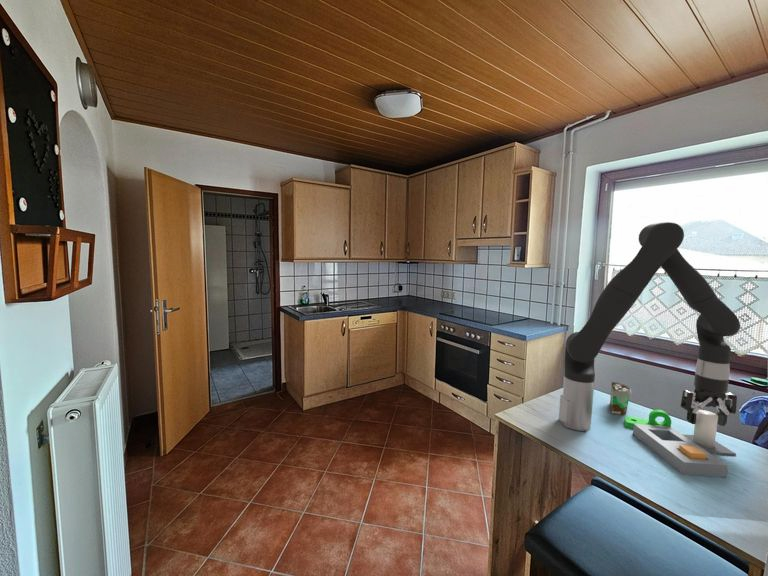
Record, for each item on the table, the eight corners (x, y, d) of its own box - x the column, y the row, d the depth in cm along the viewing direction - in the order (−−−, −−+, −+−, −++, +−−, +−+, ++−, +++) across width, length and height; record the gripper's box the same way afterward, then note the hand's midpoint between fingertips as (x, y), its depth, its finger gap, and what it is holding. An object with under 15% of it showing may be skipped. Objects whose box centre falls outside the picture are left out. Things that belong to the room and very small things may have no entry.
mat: (700, 453, 101) (700, 451, 101) (674, 435, 110) (674, 433, 110) (735, 455, 100) (736, 453, 100) (706, 437, 110) (707, 435, 109)
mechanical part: (665, 429, 115) (667, 407, 114) (669, 436, 110) (672, 414, 109) (623, 420, 121) (625, 399, 120) (625, 427, 116) (627, 405, 115)
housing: (682, 474, 90) (684, 462, 90) (632, 433, 111) (633, 423, 111) (726, 477, 89) (727, 465, 89) (667, 435, 110) (668, 425, 110)
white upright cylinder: (701, 447, 103) (705, 416, 102) (688, 438, 108) (691, 409, 107) (719, 448, 102) (722, 417, 101) (705, 439, 107) (708, 410, 106)
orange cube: (689, 468, 93) (690, 453, 92) (677, 459, 97) (679, 444, 96) (704, 469, 92) (706, 454, 92) (692, 460, 96) (694, 446, 96)
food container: (631, 420, 120) (634, 394, 119) (611, 416, 124) (613, 390, 123) (628, 408, 131) (630, 383, 130) (609, 404, 134) (611, 380, 133)
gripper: (697, 377, 100) (691, 428, 101) (748, 380, 98) (742, 431, 100) (677, 369, 107) (672, 416, 109) (725, 371, 106) (719, 419, 107)
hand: (706, 423), depth 104 cm, fingers open, 8 cm apart
